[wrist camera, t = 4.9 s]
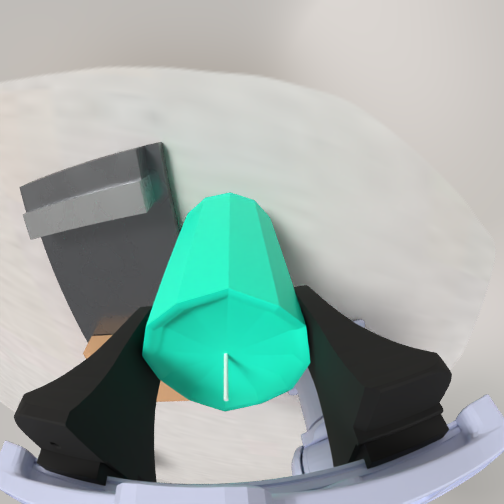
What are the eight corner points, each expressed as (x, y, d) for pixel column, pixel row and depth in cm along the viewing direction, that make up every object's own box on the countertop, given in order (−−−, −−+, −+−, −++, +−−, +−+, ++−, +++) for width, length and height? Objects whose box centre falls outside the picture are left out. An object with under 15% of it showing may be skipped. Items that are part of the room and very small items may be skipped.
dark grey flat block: (219, 377, 28) (219, 403, 25) (117, 382, 28) (111, 405, 25) (161, 141, 18) (148, 145, 15) (32, 181, 18) (7, 192, 15)
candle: (268, 278, 20) (300, 436, 10) (183, 275, 20) (149, 432, 9) (278, 195, 18) (347, 329, 7) (181, 190, 17) (108, 322, 6)
